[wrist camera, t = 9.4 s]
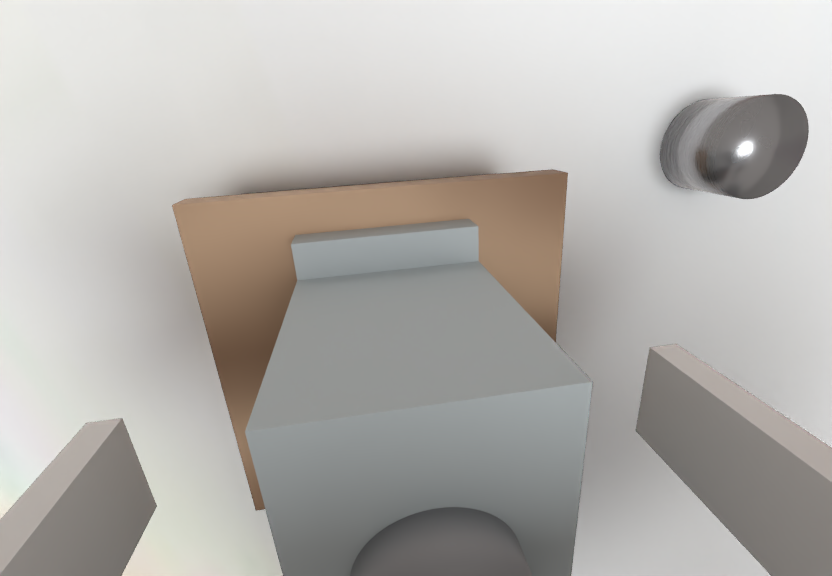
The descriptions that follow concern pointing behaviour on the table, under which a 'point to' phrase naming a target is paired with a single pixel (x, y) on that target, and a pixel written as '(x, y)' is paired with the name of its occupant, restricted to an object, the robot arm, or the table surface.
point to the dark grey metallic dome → (735, 145)
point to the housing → (416, 415)
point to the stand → (347, 210)
